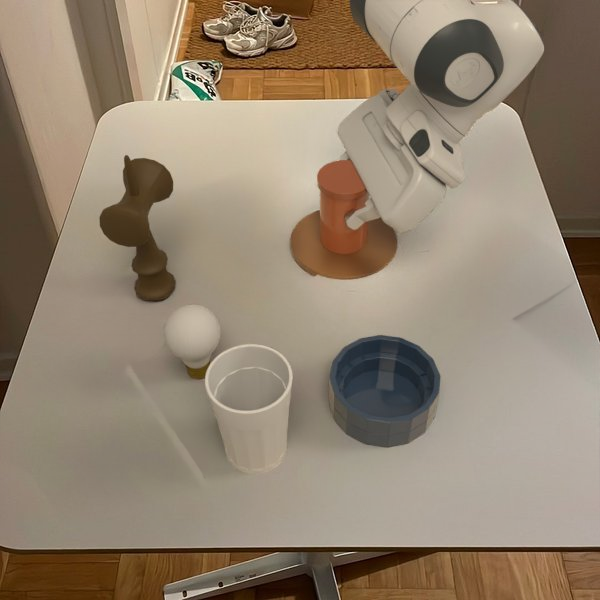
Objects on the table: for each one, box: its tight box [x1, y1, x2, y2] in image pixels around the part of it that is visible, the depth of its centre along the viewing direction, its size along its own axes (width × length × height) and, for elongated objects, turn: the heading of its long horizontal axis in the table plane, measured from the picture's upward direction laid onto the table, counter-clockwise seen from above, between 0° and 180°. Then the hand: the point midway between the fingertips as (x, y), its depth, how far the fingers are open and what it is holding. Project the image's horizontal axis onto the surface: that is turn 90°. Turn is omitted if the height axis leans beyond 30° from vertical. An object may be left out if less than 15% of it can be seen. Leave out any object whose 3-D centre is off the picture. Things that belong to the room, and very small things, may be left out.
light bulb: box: [163, 303, 221, 380], centre depth 79 cm, size 6×6×10 cm
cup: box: [204, 343, 294, 475], centre depth 71 cm, size 8×8×12 cm
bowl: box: [328, 334, 442, 448], centre depth 77 cm, size 11×11×5 cm
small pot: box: [316, 159, 371, 254], centre depth 93 cm, size 7×7×10 cm
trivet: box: [290, 209, 399, 281], centre depth 97 cm, size 14×14×1 cm
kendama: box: [98, 154, 176, 302], centre depth 85 cm, size 6×10×20 cm, turn 171°
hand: (339, 205), depth 92 cm, fingers closed on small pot, 6 cm apart
